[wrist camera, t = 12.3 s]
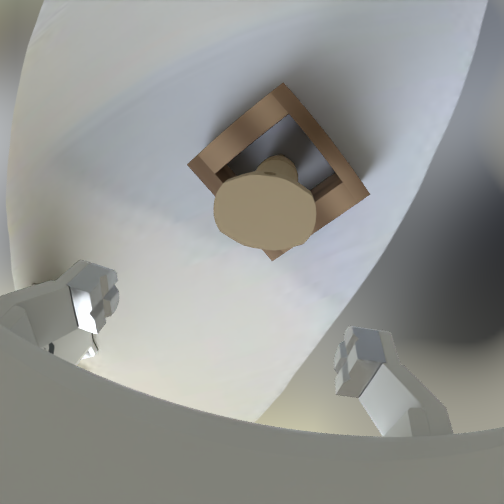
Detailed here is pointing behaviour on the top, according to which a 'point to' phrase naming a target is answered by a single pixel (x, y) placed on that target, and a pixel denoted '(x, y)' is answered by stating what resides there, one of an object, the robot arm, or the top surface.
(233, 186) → the handle
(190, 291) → the top surface
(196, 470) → the robot arm
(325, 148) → the frame
